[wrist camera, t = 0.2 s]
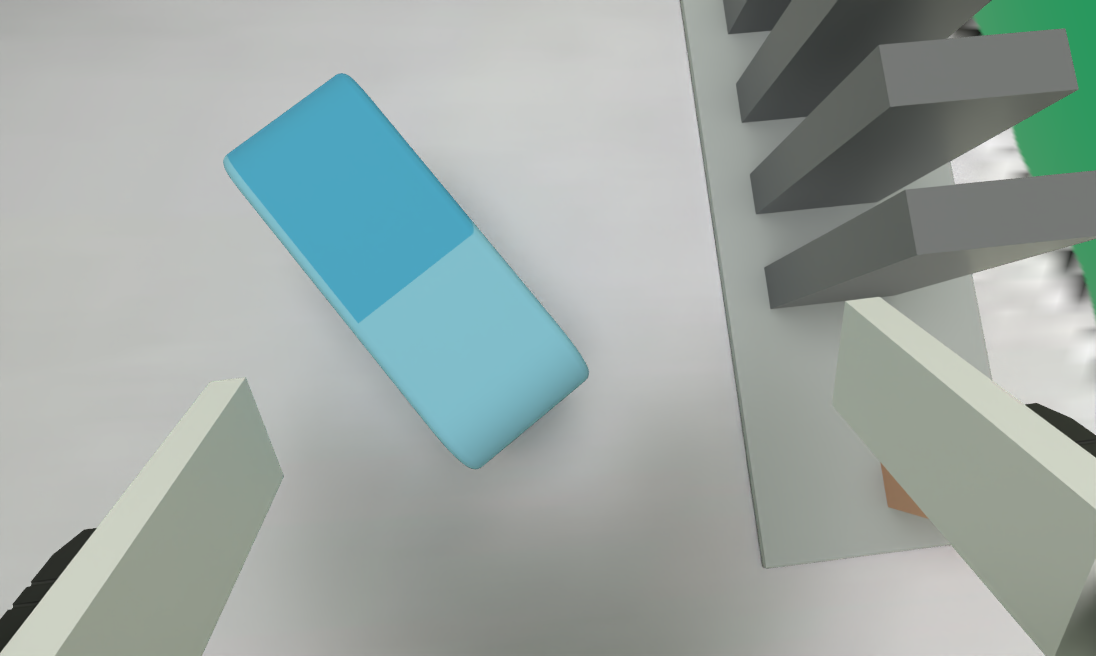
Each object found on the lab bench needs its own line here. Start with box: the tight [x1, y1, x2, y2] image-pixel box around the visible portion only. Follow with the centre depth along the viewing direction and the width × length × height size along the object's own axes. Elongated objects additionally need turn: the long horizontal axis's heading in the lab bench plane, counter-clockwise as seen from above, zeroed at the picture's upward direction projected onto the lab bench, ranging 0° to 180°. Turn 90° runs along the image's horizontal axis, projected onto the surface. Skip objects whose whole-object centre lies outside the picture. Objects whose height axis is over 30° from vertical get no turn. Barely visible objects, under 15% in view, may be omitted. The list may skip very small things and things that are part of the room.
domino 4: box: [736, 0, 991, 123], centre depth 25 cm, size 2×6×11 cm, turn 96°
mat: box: [680, 0, 992, 569], centre depth 30 cm, size 30×12×1 cm, turn 6°
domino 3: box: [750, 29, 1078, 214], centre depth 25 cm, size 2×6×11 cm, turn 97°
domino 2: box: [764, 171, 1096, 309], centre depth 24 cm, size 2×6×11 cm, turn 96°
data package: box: [223, 73, 589, 469], centre depth 23 cm, size 12×4×12 cm, turn 40°
